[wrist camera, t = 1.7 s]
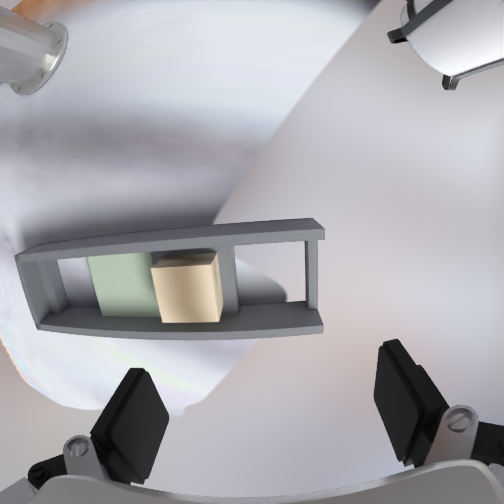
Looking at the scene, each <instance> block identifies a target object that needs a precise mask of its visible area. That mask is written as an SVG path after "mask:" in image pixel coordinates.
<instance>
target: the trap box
mask: <svg viewBox="0 0 504 504" xmlns="http://www.w3.org/2000/svg"><path fill="white" fill-rule="evenodd" d="M318 240H325V229H324V228H323V227H322V226H321V225H320V224H319V223H318V222H317V221H315V220H314V219H313V218H304V219H286V220H271V221H258V222H257V221H256V222H243V223H230V224H217V225H205V226H194V227H183V228H172V229H162V230H152V231H142V232H133V233H124V234H115V235H106V236H98V237H89V238H81V239H73V240H66V241H58V242H51V243H43V244H39V245H37V246H34V247H32V248H30V249H28V250H25V251H23V252H21V253H19V254H17V255H15V256H14V257H15V261H16V265H17V269H18V273H19V276H20V280H21V283H22V287H23V290H24V293H25V297H26V300H27V303H28V306H29V309H30V311H31V314H32V317H33V320H34V322H35V325H36V328H37V330H43V331H51V332H59V333H67V334H76V335H87V336H98V337H111V338H128V339H150V340H231V339H255V338H271V337H286V336H298V335H309V334H318V333H323V322H322V320H321V317H320V315H319V312H318V309H317V308H318ZM294 241H305V270H306V271H305V274H306V275H305V276H306V301H296V302H282V303H268V304H252V305H240V303H239V293H238V284H237V274H236V265H235V255H234V246H235V245H249V244H264V243H279V242H294ZM215 252H217V255H218V263H219V272H220V280H221V288H222V295H223V303H224V304H223V308H222V312H221V316H220V320H219V322H193V323H163V322H162V318H161V314H160V310H159V305H158V301H157V296H156V292H155V287H154V282H153V277H152V272H151V268H152V267H153V266H154V265H155V264H156V263H157V262H158V261H159V260H160V259H161V258H162V257H163V256H172V255H186V254H201V253H215ZM79 257H87V259H88V263H89V268H90V272H91V276H92V280H93V284H94V288H95V291H96V295H97V299H98V302H99V306H100V307H70V306H69V303H68V299H67V296H66V293H65V289H64V286H63V282H62V278H61V275H60V271H59V267H58V263H57V259H67V258H79Z"/></svg>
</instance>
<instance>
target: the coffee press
mask: <svg viewBox="0 0 504 504" xmlns="http://www.w3.org/2000/svg"><path fill="white" fill-rule="evenodd" d="M406 1H408V2H407V4H406V6H405V7H404V8H403V10H402V13H401V25H402V27H401V28H399V29H396V30H393V31H390V32H388V33H387V35H388V37H389V39H390V42H391V43H394V44H395V43H400V42H406V41H408V42H409V43H410V45H411V47H412V48H413V49H414V51H415V52H416V53H417V54H418V55H419V56H420V57H421V58H422V59H423V60H424V61H425V62H426V63H427V64H428V65H430V66H431V67H432V68H434V69H435V70H437V71H438V72H440V73H442V74H444V75H443V81H442V85H443V88H444V89H445V90H455V89H456V86H457V84H458V82H459V80H460V79H462V78H464V77H467V76H470V75H473V74H476V73H478V72H481V71H485V70H488V69H491V68H494V67H497V66H501V65H504V0H406ZM451 76H452V77H454V78H453V79H452V80H451V82H450V77H451ZM449 82H450V85H449Z"/></svg>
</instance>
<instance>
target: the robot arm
mask: <svg viewBox="0 0 504 504" xmlns="http://www.w3.org/2000/svg"><path fill="white" fill-rule="evenodd" d="M67 40H68V34H67V30H66V28H65V26H63V25H62V24H60V23H58V22H50V23H47V24H45V25H43V26H42V25H40V24H38V23H36V22H34V21H32V20H30V19H28V18H26V17H23V16H21V15H19V14H17V13H15V12H13V11H10V10H8V9H5V8H3V7H1V6H0V83H2V82H8V83H11V87H12V90H13V91H14V92H15V93H17V94H20V95H28V94H31V93H33V92H35V91H36V90H38V89H39V88H40V87H41V86H42V85H43V84H44V83H45V82H46V81H47V80H48V79H49V78H50V76H51V75H52V74H53V72H54V71H55V69H56V68H57V66H58V64H59V63H60V61H61V59H62V57H63V54H64V52H65V49H66V45H67ZM374 401H375V403H376V406H377V408H378V411H379V413H380V416H381V418H382V420H383V423H384V426H385V428H386V431H387V433H388V436H389V438H390V441H391V443H392V446H393V449H394V451H395V454H396V457H397V459H398V461H399V462H400V461H403V464H404V466H405V467H406V466H408V465H411V464H413V465H414V467H415V468H414V469H411V470H408V471H404V472H401V473H398V474H394V475H391V476H388V477H384V478H381V479H377V480H373V481H369V482H365V483H361V484H356V485H352V486H347V487H342V488H337V489H332V490H326V491H320V492H313V493H306V494H297V495H287V496H274V497H211V496H198V495H187V494H178V493H172V492H165V491H159V490H153V489H147V488H142V487H137V486H132V485H130V484H131V482H134V483H138V484H144V481H145V479H148V477H149V475H150V472H151V470H152V467H153V464H154V461H155V458H156V455H157V453H158V450H159V447H160V444H161V441H162V439H163V436H164V433H165V430H166V427H167V425H168V422H169V414H168V412H167V410H166V408H165V406H164V404H163V402H162V400H161V398H160V396H159V394H158V391H157V389H156V387H155V385H154V383H153V381H152V378H151V376H150V374H149V372H147V371H145V369H144V368H130V369H129V370H128V372H127V374H126V375H125V377H124V378H123V380H122V381H121V383H120V385H119V386H118V388H117V389H116V391H115V393H114V394H113V396H112V397H111V399H110V401H109V402H108V404H107V405H106V407H105V409H104V410H103V412H102V414H101V415H100V417H99V419H98V420H97V422H96V423H95V425H94V427H93V428H92V430H91V432H90V434H91V437H90V438H89V437H87V436H84V435H77V436H74V437H72V438H70V439H69V440H68V441H67V442H66V443H65V445H64V448H63V454H62V455H59V456H56V457H53V458H51V459H48V460H45V461H42V462H39V463H37V464H35V465H33V466H32V467H31V468H30V470H29V472H28V479H27V478H25V477H24V478H22V479H20V480H19V481H17V482H16V483H14V484H13V485H11V486H9V487H8V488H6V489H5V490H3V491H1V492H0V504H504V426H501V425H496V424H490V423H485V422H480V421H479V418H478V415H477V413H476V411H475V410H474V409H472V408H471V407H469V406H465V405H456V406H453V407H451V408H450V407H449V405H448V404H447V402H446V401H445V399H444V398H443V396H442V395H441V393H440V392H439V390H438V389H437V387H436V386H435V385H434V383H433V381H432V380H431V378H430V377H429V376H428V374H427V373H426V371H425V370H424V368H423V367H422V366H421V365H416V364H415V362H414V361H413V359H412V358H411V357H410V355H409V354H408V352H407V351H406V349H405V348H404V347H403V345H402V344H401V342H400V341H399V340H398V339H393V340H389V341H385V342H383V346H380V347H379V353H378V362H377V371H376V380H375V387H374Z"/></svg>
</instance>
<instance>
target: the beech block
mask: <svg viewBox="0 0 504 504" xmlns="http://www.w3.org/2000/svg"><path fill="white" fill-rule="evenodd" d="M151 272H152V277H153V282H154V287H155V292H156V296H157V301H158V305H159V310H160V314H161V318H162V322H163V323H193V322H219V320H220V316H221V312H222V308H223V304H224V303H223V295H222V288H221V280H220V272H219V263H218V255H217V252H215V253H201V254H186V255H172V256H163V257H162V258H161V259H160V260H159V261H158V262H157V263H156V264H155V265H154V266H153V267H152V268H151Z"/></svg>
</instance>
